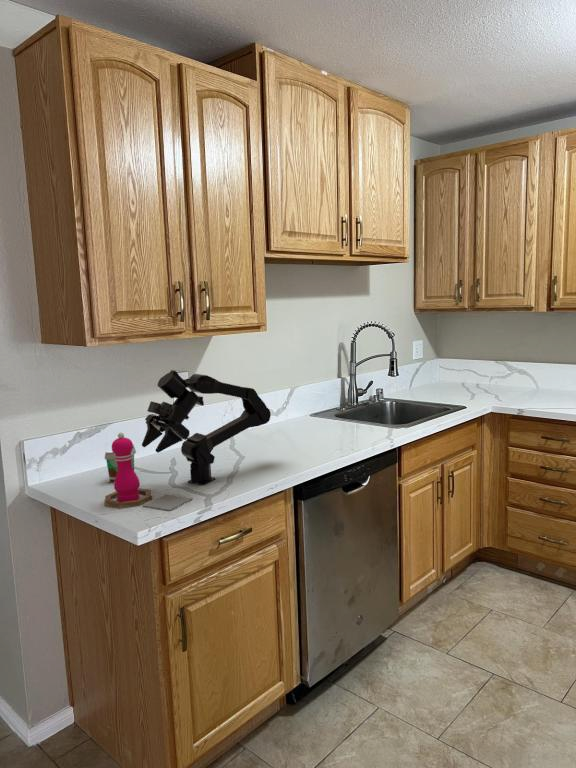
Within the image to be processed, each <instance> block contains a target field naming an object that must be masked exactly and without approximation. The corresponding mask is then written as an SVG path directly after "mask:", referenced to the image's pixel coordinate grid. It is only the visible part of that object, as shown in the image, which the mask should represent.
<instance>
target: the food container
mask: <svg viewBox="0 0 576 768" xmlns="http://www.w3.org/2000/svg"><path fill="white" fill-rule="evenodd" d="M131 453H132V457H133V458H132V459H131V461H132V467H133V470H134V471H135V455H136V453H137V450H136V447H135V445H134V444H133V449H132V451H131ZM115 455H116V454H115V453H114V452H113V451H112V452H105V453H104V460H106V465H107V473H108V479H109V482H110V483H114V482H115V478H116V474H117V461H115V457H114V456H115Z"/></svg>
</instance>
